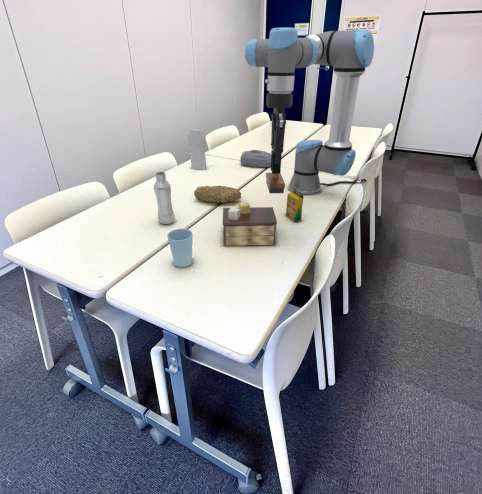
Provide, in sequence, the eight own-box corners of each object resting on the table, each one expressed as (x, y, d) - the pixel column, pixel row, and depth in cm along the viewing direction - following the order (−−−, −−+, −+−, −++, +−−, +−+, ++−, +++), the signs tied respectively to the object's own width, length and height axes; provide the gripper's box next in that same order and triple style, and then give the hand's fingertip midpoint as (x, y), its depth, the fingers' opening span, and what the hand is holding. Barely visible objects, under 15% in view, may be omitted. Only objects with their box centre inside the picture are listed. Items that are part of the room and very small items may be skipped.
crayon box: (285, 215, 133) (287, 188, 127) (291, 213, 134) (294, 187, 128) (294, 222, 127) (297, 195, 121) (301, 221, 128) (304, 193, 122)
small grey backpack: (238, 166, 190) (270, 170, 184) (237, 152, 185) (271, 155, 179) (246, 159, 202) (277, 162, 196) (246, 146, 197) (277, 148, 192)
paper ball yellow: (247, 209, 117) (247, 201, 115) (250, 213, 114) (250, 205, 112) (238, 210, 116) (238, 202, 114) (241, 214, 113) (241, 206, 111)
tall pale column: (189, 168, 187) (185, 129, 176) (192, 166, 190) (189, 127, 179) (205, 170, 184) (202, 130, 172) (208, 168, 187) (206, 129, 175)
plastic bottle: (161, 227, 124) (154, 177, 114) (156, 220, 129) (149, 172, 119) (177, 223, 127) (171, 174, 116) (172, 217, 132) (166, 169, 121)
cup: (166, 261, 104) (162, 233, 98) (186, 253, 108) (183, 226, 102) (178, 272, 99) (175, 243, 93) (199, 263, 103) (197, 235, 98)
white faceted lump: (240, 216, 112) (240, 208, 110) (237, 220, 109) (237, 212, 107) (231, 215, 113) (231, 206, 111) (227, 219, 110) (227, 210, 108)
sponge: (193, 204, 145) (229, 204, 135) (190, 187, 143) (228, 186, 133) (210, 200, 156) (245, 199, 146) (208, 183, 154) (244, 182, 144)
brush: (279, 181, 112) (282, 142, 105) (284, 193, 103) (287, 151, 96) (265, 181, 112) (267, 142, 105) (268, 193, 103) (270, 151, 96)
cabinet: (271, 228, 123) (272, 207, 118) (276, 246, 111) (277, 223, 107) (223, 229, 123) (223, 207, 118) (223, 247, 111) (222, 224, 106)
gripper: (264, 89, 99) (261, 164, 111) (270, 95, 86) (266, 179, 98) (288, 89, 99) (283, 164, 112) (297, 95, 86) (290, 179, 98)
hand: (275, 171), depth 105 cm, fingers closed on brush, 2 cm apart
